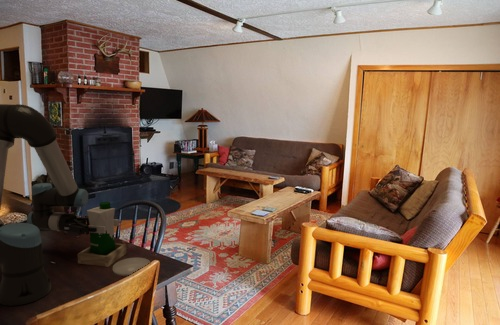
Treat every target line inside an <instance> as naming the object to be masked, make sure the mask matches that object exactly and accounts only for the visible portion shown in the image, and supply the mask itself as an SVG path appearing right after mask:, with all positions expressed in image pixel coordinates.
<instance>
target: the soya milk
mask: <svg viewBox="0 0 500 325" xmlns="http://www.w3.org/2000/svg"><path fill="white" fill-rule="evenodd" d="M115 210H116V208H114V207H112V206H111V202H109V201H101V202H100V203H99V206H97V207H93V208H91V209H87V210H86V213H87V216H88V218H89V227H90V225H92V226H105V229H106V233H105V234H103V233H92V232H89V242H90V243H89V247H90V252H91V253H94V254H96V255H105V256H106V255H108V254H110V252H112V251H114V250H116V248H115V243H116V242H115V241H116V240H115V226H114V219H115V218H114V217H115V212H116V211H115Z"/></svg>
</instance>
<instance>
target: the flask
mask: <svg viewBox="0 0 500 325" xmlns="http://www.w3.org/2000/svg"><path fill="white" fill-rule="evenodd" d="M70 213H71V214H75V212H73V211H72V212H70ZM76 217H77V218H79V217H81V216H79V215H77V214H76ZM63 232H64V234H66V235H75V236H81V235H82V234H79V233H75V232H66V231H63Z"/></svg>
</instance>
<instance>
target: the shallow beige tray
mask: <svg viewBox="0 0 500 325" xmlns="http://www.w3.org/2000/svg"><path fill="white" fill-rule="evenodd" d="M115 248H116V250H114V251H112V252H110V253H107V254H105V255H97V254H94V253H91V252H90V246H89V247H87V248H85V249H83V250H82V251H80V252H78V253H77V264H81V265H82V264H83V265H91V266H98V267H106V268H108V267H110V266H111V265H114V264H115V263H116V262H118V260H119V259H121V258H122V257H123V256H125V255H126V254H128V253H127V252H128V251H127V243H117V242H115Z"/></svg>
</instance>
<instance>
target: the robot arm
mask: <svg viewBox="0 0 500 325" xmlns="http://www.w3.org/2000/svg"><path fill="white" fill-rule="evenodd" d="M57 138H58V134H57V132H56V130H55V128H54V126H53V125H52V123H51V122H50V121H49V120H48V119H47V118H46V117H45V116H44V115H43V114H42V113H41V112H39V111H38V110H37V109H35V108H33V107H31V106H28V105H25V104H19V103H18V104H3V103H0V209H1V208H2V199H3V194H4V193H3V191H4V184H5V176H6V171H7V170H6V169H7V163H8V162H7V160H8V155H9V149H11V148H12V147H13V146H14V145H15V140H16V139H22V140H25V141H26V142H27V144H28V145H29V147H31V148H33V149H34V150H35V151H36V154H37V156H38V158H39V160H40V161H41V164H42V166H43V167H44V169H45V171H46V172H47V174H48V177H49V178H50V181H51V182H52V183H50V182H40V183H36V184H33V185H32V186H31V202H32V207H33V211H32V212H31V211H30V212H29V213H28V215H27V219H26V222H17V223H14V222H12V223H6V224H5V222H4V221H3V220H2V219H0V268H1V279H0V305H3V306H7V307H8V306H10V307H14V306H22V305H25V304H30V303H34V302H35V301H38V300H40V299H42V298H44V297H45V296H47V295H48V294H49V293H50V292H51V290H52V283H51V279H50V278H49V275H48V274H47V272H46V270H45V268H44V258H43V256H44V255H43V243H42V241H43V239H42V238H43V237H42V235H41V234H42V233H41V230H48V231H57V232H61V231H62V232H64V231H66V232H75V233H79V234H81V235H84V234H86V235H90V232H92V233H103V234H105V233H106V229H105V226H92V225H90V227H89V218H88V215H85V216H84V217H81V216H80V217H79V218H77V217H76V216H77V214H75V213H73V214H71V213H72V212H70V213H69V212H64V213H60V212H53V206H55V207H64V208H83V207H85V206H86V205H87V204H88V201H89V192H88V191H87V190H86V189H84V188H79V186H78V185H77V181H76V180H75V178H74V176H73V174H72V171H71V170H70V167H69V165H68V163H67V161H66V159H65V157H64V154H63V152H62V150H61V147H60V145H59V143H58V142H57ZM52 184H53V185H52ZM53 186H54V188H53ZM119 226H120V219H117V218H114V227H119Z"/></svg>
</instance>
